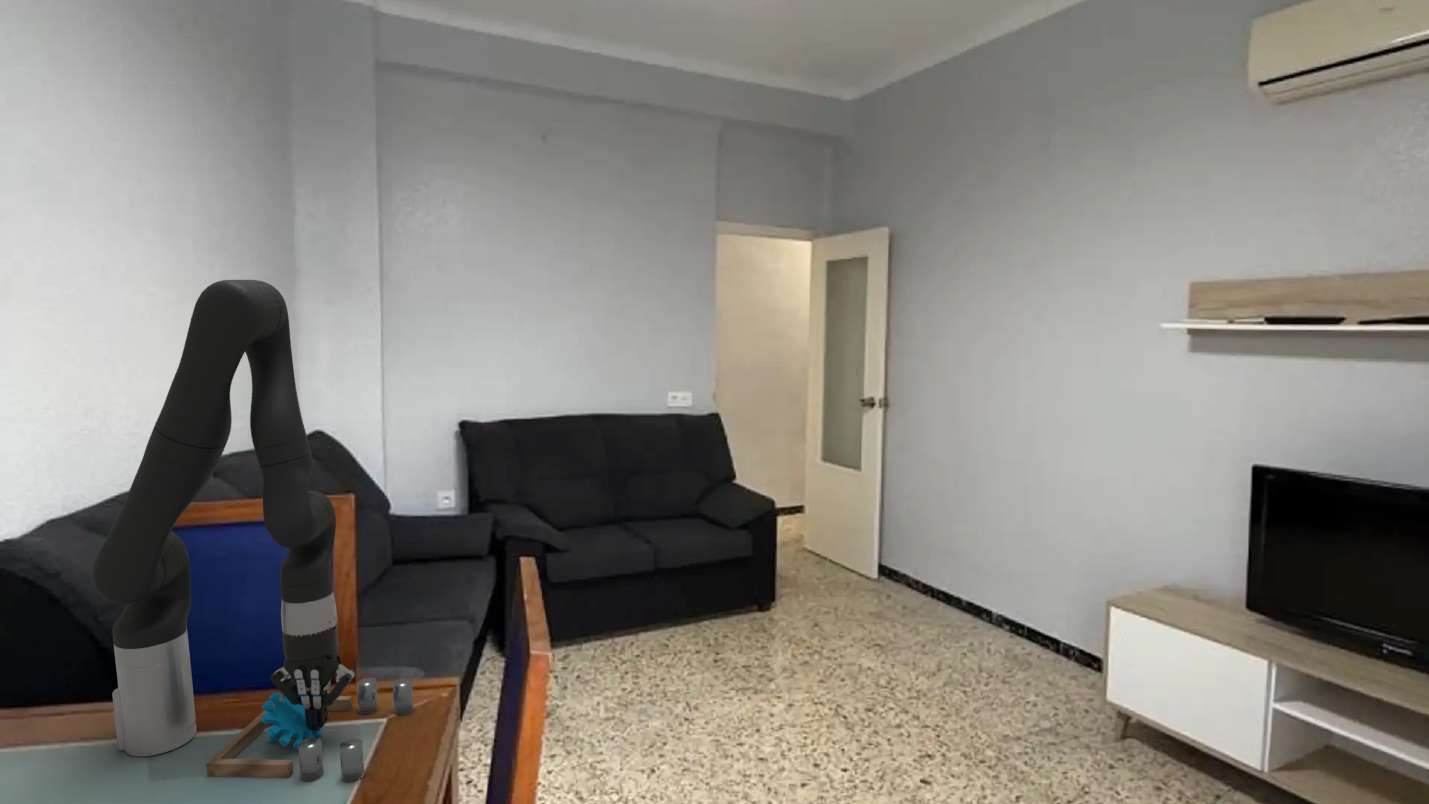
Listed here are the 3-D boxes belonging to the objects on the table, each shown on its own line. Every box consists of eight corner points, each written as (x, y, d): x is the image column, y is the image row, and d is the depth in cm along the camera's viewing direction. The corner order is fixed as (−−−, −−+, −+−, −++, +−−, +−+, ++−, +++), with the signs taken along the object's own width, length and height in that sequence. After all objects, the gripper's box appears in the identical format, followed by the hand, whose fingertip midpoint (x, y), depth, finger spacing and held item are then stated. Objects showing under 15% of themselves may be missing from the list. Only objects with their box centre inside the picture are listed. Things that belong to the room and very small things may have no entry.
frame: (207, 776, 115) (206, 763, 115) (282, 706, 134) (281, 694, 134) (289, 777, 115) (288, 765, 114) (352, 707, 134) (351, 696, 134)
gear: (295, 753, 118) (253, 702, 119) (269, 779, 118) (228, 727, 120) (341, 723, 129) (303, 676, 130) (317, 747, 129) (279, 700, 130)
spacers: (296, 781, 114) (293, 749, 113) (363, 705, 135) (361, 677, 134) (358, 782, 114) (356, 750, 113) (416, 706, 134) (414, 678, 134)
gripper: (252, 632, 118) (261, 740, 120) (340, 633, 118) (347, 742, 120) (280, 612, 125) (289, 714, 128) (363, 613, 125) (370, 715, 128)
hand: (317, 727), depth 124 cm, fingers closed
